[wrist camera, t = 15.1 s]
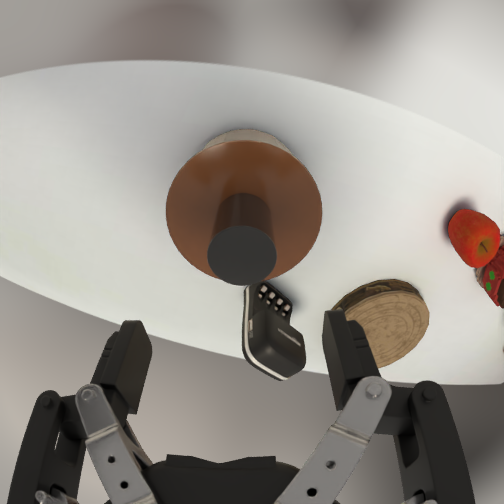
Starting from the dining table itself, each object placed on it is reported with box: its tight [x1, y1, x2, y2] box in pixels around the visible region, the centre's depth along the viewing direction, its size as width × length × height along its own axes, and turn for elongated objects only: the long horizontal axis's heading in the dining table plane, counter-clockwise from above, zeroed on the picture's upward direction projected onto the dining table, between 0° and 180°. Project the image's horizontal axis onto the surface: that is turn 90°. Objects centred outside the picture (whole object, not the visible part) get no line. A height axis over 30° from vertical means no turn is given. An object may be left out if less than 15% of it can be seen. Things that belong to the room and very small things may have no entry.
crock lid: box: [166, 139, 322, 286], centre depth 21 cm, size 12×12×7 cm
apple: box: [448, 209, 500, 268], centre depth 30 cm, size 6×6×8 cm
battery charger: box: [242, 281, 306, 381], centre depth 33 cm, size 7×4×11 cm, turn 45°
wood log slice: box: [332, 279, 429, 368], centre depth 40 cm, size 16×16×3 cm
